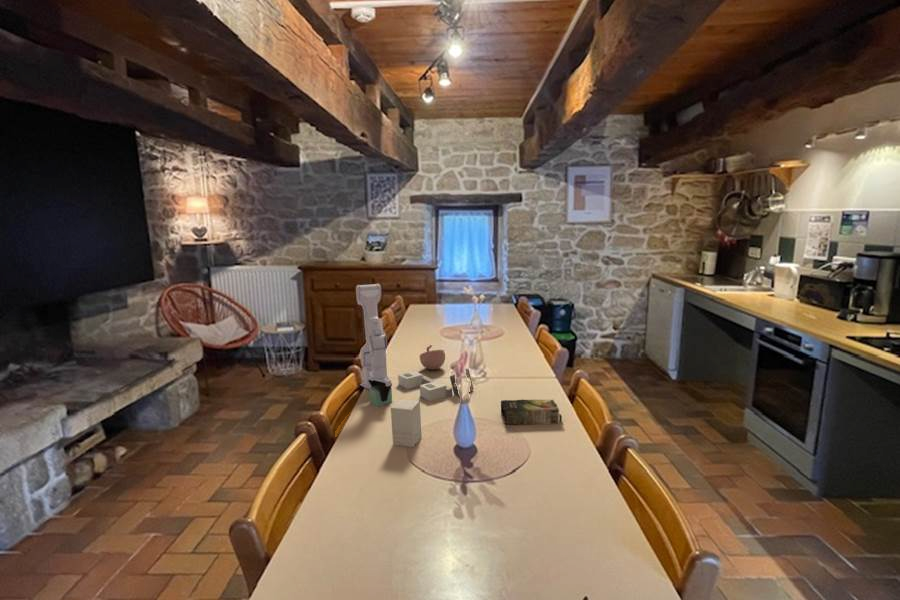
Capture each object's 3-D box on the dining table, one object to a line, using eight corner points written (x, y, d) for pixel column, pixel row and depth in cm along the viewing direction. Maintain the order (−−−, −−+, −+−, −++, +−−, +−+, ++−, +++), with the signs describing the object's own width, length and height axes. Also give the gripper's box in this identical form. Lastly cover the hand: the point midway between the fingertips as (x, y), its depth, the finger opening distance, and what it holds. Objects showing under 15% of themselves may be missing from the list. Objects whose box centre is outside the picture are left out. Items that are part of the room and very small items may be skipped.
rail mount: (397, 384, 202) (396, 373, 201) (417, 378, 208) (416, 368, 207) (431, 402, 181) (431, 390, 180) (452, 395, 187) (452, 384, 186)
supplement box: (422, 437, 153) (420, 400, 150) (413, 447, 146) (411, 409, 144) (401, 434, 155) (400, 398, 153) (392, 444, 148) (389, 407, 146)
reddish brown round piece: (439, 363, 228) (438, 341, 226) (449, 370, 217) (449, 347, 215) (416, 367, 223) (415, 344, 221) (426, 375, 212) (425, 350, 210)
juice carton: (555, 412, 169) (555, 396, 168) (562, 424, 160) (563, 407, 159) (500, 414, 169) (500, 399, 168) (504, 427, 159) (504, 410, 158)
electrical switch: (460, 397, 185) (458, 375, 184) (450, 396, 188) (448, 373, 187) (474, 390, 192) (472, 368, 191) (464, 389, 195) (462, 367, 194)
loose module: (370, 402, 182) (369, 387, 181) (385, 397, 187) (385, 383, 186) (376, 406, 179) (375, 391, 177) (392, 401, 183) (391, 386, 182)
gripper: (361, 363, 183) (363, 395, 186) (378, 372, 172) (380, 406, 174) (377, 359, 187) (379, 391, 190) (395, 368, 176) (397, 402, 178)
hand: (380, 398), depth 182 cm, fingers closed on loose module, 5 cm apart
